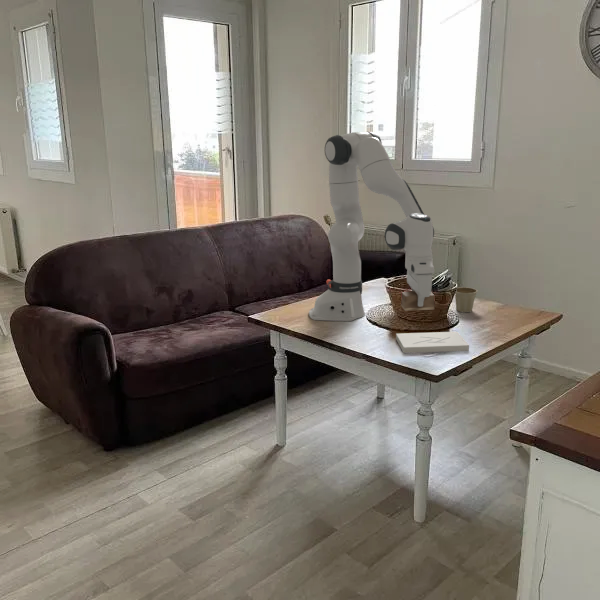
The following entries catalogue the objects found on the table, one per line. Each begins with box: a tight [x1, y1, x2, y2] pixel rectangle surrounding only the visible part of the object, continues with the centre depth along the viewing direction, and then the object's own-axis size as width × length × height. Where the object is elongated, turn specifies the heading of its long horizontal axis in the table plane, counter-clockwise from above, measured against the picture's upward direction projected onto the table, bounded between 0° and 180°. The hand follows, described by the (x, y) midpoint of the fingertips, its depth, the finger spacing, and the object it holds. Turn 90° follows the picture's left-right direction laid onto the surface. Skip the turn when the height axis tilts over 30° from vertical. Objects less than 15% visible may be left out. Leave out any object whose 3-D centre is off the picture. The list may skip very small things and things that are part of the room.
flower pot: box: [454, 286, 479, 313], centre depth 248 cm, size 9×9×9 cm
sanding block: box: [400, 290, 436, 312], centre depth 208 cm, size 10×6×5 cm, turn 93°
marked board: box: [395, 331, 470, 354], centre depth 212 cm, size 22×14×2 cm, turn 92°
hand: (417, 302), depth 208 cm, fingers closed on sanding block, 6 cm apart
